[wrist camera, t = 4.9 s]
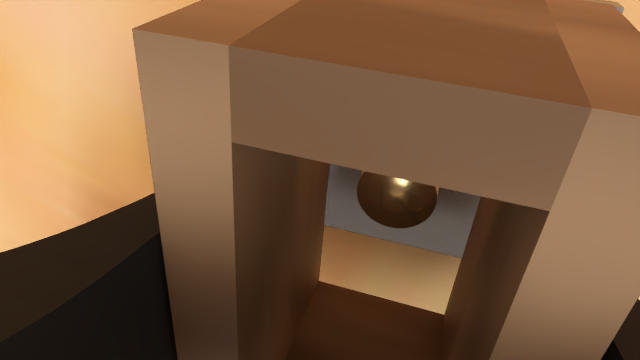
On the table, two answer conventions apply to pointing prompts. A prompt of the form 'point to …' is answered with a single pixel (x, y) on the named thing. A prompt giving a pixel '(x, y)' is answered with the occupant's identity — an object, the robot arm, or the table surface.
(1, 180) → the table surface
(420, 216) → the panel
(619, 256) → the walnut link
